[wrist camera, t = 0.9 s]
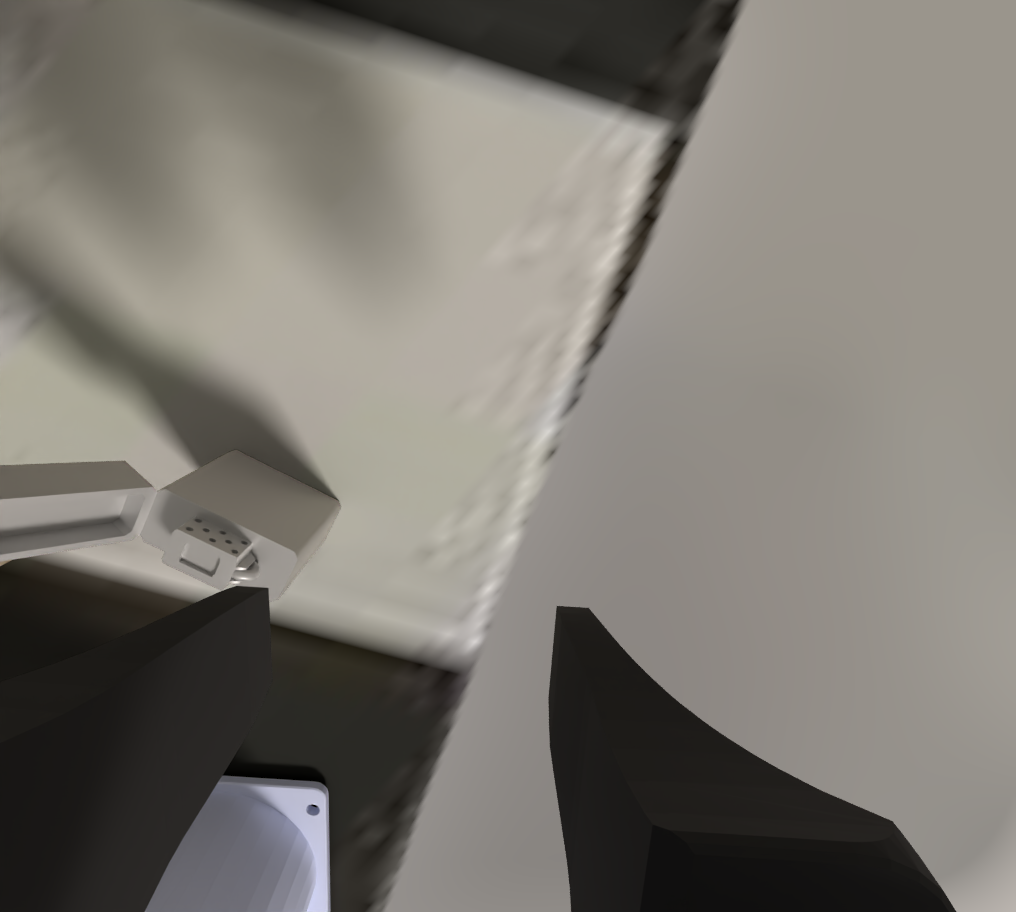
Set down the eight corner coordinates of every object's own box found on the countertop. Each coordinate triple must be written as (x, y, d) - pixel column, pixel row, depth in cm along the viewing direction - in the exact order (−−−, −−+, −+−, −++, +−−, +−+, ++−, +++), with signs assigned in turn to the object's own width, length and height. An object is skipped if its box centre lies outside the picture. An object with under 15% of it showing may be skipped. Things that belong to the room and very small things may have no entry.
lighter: (343, 503, 21) (241, 625, 13) (323, 544, 22) (212, 685, 14) (147, 405, 20) (-81, 475, 13) (130, 450, 21) (-101, 544, 13)
